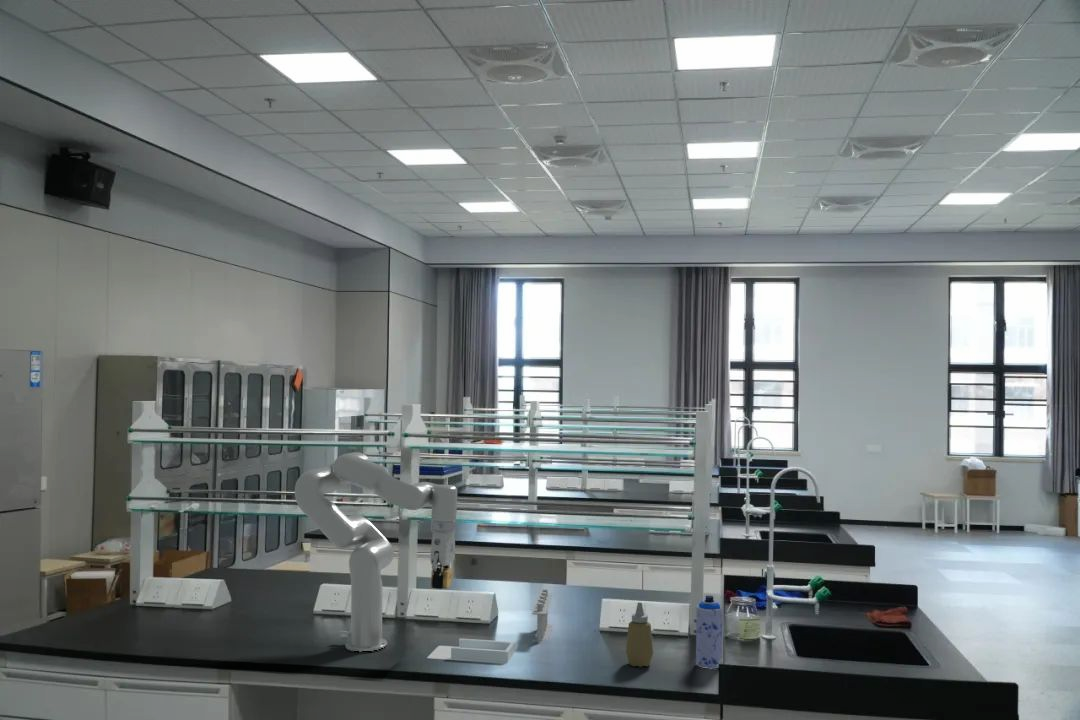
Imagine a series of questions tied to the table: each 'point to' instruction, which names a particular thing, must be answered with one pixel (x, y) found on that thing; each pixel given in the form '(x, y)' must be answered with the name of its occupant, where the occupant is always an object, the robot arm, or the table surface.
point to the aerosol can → (708, 633)
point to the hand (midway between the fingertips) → (440, 585)
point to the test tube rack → (542, 615)
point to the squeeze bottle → (639, 639)
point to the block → (445, 577)
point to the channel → (476, 651)
